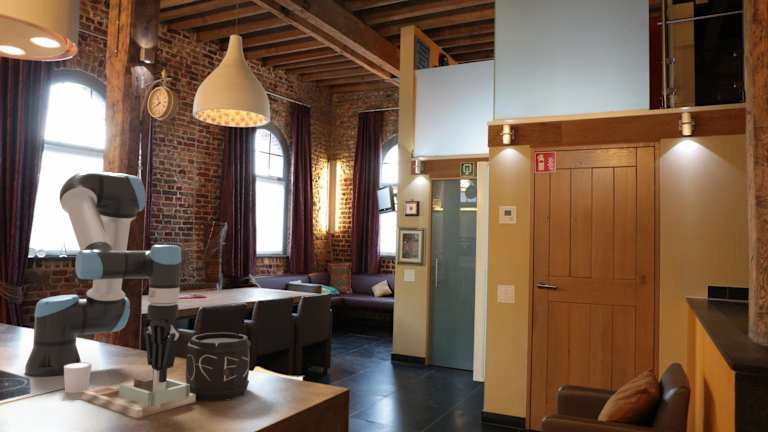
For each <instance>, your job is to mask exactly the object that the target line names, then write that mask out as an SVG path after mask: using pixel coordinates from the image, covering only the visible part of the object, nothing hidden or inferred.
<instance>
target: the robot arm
mask: <svg viewBox="0 0 768 432" xmlns="http://www.w3.org/2000/svg"><path fill="white" fill-rule="evenodd" d="M144 185H145V184H143V181H142V179H141V178H140V177H139V176H136V175H131V174H126V173H117V172H114V173H113V172H103V171H102V172H101V171H95V170H94V171H93V170H86V171H82V172H78V173H76V174H74V175H72V176H71V177H69V178H68V179H67V180H66V181H65V182H64V184H63V185H62V187H61V189H60V191H59V203H60V205H61V207H62V208H61V209H63V211H64V212H65V213H67V214H68V218H69V220H70V223H71V225H72V226H71V227H72V229H73V231H74V235H75V238H76V241H77V245H78V247H79V251H78V253H77V254H76V257H75V263H74V264H75V265H74V266H75V275H76V276H77V278H79V279H80V280H92V287H91V288H90V289H89V290H87V291H86V295H85V298H80V297H79V295H78V294H64V295H63V294H62V295H56V296H49V297H46V298H43V299H40V300H39V301H38V302H37V303H36V304H35V305H36V306H35V311H34V329H33V330H34V331H33V346H32V349H31V351H30V354H29V357H28V358H27V362H26V363H25V368H24V369H25V372H24V373H25V374H26V375H29V376H36V377H50V376H51V377H52V376H59V375H64V366H65V365H67V364H72V363H82V359H81V357H80V353H79V350H78V348H77V336H82V335H96V334H110V333H113V332H120V331H122V330H123V329H124V328H125V327H126V325H127V323H128V320H129V317H130V312H131V309H130V307H131V305H130V304H131V303H130V300H129V298H128V297H127V296H126V293H125V292H124V291H123V290H122V285H123V279H149V280H148V303H149V304H148V305H147V315H146V316H147V319H148V320H150V322H149V326H148V327H144V328H143V331H142V332H143V334H144V337H145V338H144V340H145V348H146V350H145V351H146V359H147V360H146V361H147V366H151V368H152V376H153V392H156V391H160V390H164V389H165V387H166V380H167V377H168V375H167V374H168V369H171V368H173V367H174V364H175V359H176V355H177V354H176V353H177V350H178V345H179V341H180V339H181V337H182V332H181V331H178V332H177V330H176V324H175V321H176V319H178V317H179V305H178V303H179V302H180V283H181V282H180V281H181V280H180V279H181V264H182V249H181V247H180V246H179V245H172V244H154V245H152V246H151V248H150V249H148V250H147V249H144V250H127V248H128V243H129V234H130V229H131V227H130V226H131V222H132V221H134V220H135V219H136V218H137V214H138V212H142V211H143V210H144V208H145V206H146V205H145V204H146V190H145V186H144Z"/></svg>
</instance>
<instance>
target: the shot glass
mask: <svg viewBox="0 0 768 432" xmlns="http://www.w3.org/2000/svg"><path fill="white" fill-rule="evenodd" d="M91 371H92V363H91V362H81V363H72V364H67V365H65V366H64V374H63V378H64V392H65V393H68V394H77V393H82V391H85V390H89V386H90V379H91V378H90V377H91Z"/></svg>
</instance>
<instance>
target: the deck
mask: <svg viewBox="0 0 768 432" xmlns="http://www.w3.org/2000/svg"><path fill="white" fill-rule="evenodd" d="M121 384H126V385H130V386H133V387H134V379H132V380H131V379H130V380H126V381H121V382H118V383H117V382H116V383H113V384H108V385H104V386H100V387H95V388H89V389H88V390H85V391H82V392H81V396H80V397H81V398H80V399H81V400H84V401H87V402H88V403H89V402H90V403H93V404H95V405H98V406H100V407H104V408H106V409H109V410H112V411H115V412H117V413H121V414H124V415H126V416H129V417H132V418H135V419H140V418H144V417H147V416H148V417H149V416H150V415H155V414H157V413H160V412H165V411H168V410H172V409H175V408H179V407H182V406H185V405H188V404H193V403H195V402H196V401H197V400H196V394H193V393H190V396H188V397H184V398H180V399H177V400H173V401H169V402H166V403H162V404H158V405H155V406H151V407H150V406H147V405H144V404H141V403H138V402H135V401H132V400H129V399H126V398H123V397H120V396H119V389H120V385H121Z"/></svg>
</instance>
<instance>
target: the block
mask: <svg viewBox="0 0 768 432" xmlns="http://www.w3.org/2000/svg"><path fill="white" fill-rule="evenodd" d="M133 380H134V387H136V388H140V389H143V390H146V391H150V392H153V375H149V374H148V375H144V376H140V377H136V378H133Z"/></svg>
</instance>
